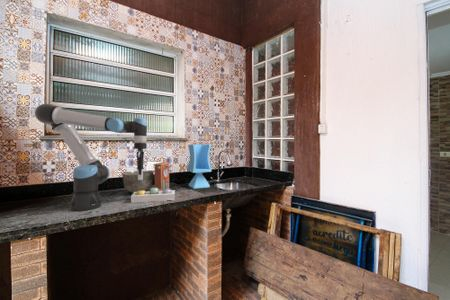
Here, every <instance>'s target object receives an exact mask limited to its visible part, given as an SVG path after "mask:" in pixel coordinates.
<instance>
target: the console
mask: <svg viewBox="0 0 450 300" xmlns="http://www.w3.org/2000/svg"><path fill="white" fill-rule="evenodd" d="M175 194H176V190H175V189H174V190H173V189H171V193H166V194H163V191H158V194H150V190H148V191H147V190H146V191H145V195H137V192H134V193H132V194H131V196H130V203H131V204H133V203H134V204H135V203H151V201H154V202H168V201H167V200H172V201H176V198H175V197H176V195H175Z"/></svg>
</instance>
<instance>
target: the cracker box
mask: <svg viewBox="0 0 450 300" xmlns="http://www.w3.org/2000/svg"><path fill="white" fill-rule="evenodd" d="M154 188H158V191H163V190H164V189H170V162H157V163H154Z"/></svg>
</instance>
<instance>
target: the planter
mask: <svg viewBox="0 0 450 300" xmlns="http://www.w3.org/2000/svg"><path fill="white" fill-rule="evenodd" d="M187 147H188V151H189V161H188V165H187V167H186V171H187V172H190V173H193V174H194V173H195V174H194V176H193V178H192V179H191V181H189V183H188V187H190V188H191V189H194V190H197V189H204V188H205V189H207V188H211V186H210V184H209V181H208V180H207V179H206V178H205V176H204V175H203V173H211V172H212V166H211V164H210V151H211V147H212V144H187Z"/></svg>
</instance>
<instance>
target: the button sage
mask: <svg viewBox="0 0 450 300" xmlns="http://www.w3.org/2000/svg"><path fill="white" fill-rule="evenodd" d="M149 191H150V194H158V188H155V187H150V188H149Z"/></svg>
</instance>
